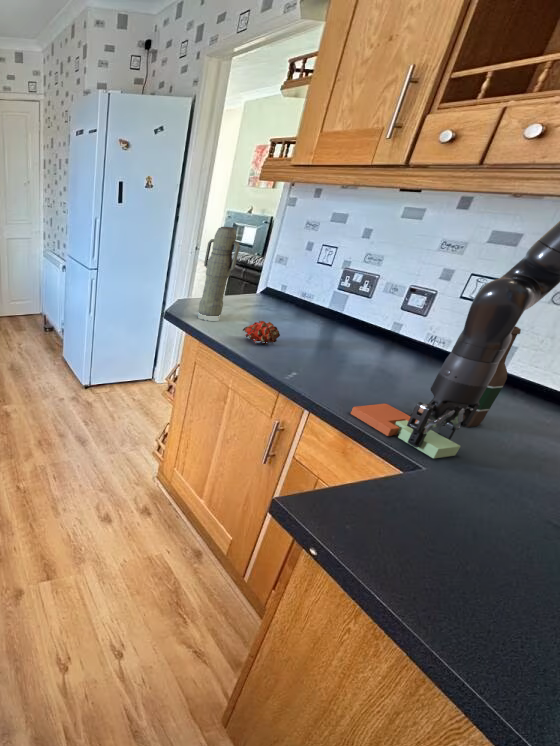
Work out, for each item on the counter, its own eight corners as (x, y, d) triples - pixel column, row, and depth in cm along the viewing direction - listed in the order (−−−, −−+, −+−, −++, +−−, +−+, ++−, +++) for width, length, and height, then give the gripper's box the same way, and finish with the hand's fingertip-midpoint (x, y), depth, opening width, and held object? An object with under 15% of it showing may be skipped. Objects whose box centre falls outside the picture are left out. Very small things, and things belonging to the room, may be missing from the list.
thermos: (219, 323, 163) (240, 230, 147) (190, 317, 169) (207, 226, 153) (226, 318, 169) (247, 228, 153) (198, 312, 175) (215, 225, 159)
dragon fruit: (277, 352, 142) (240, 348, 149) (284, 333, 145) (247, 330, 152) (276, 337, 136) (238, 333, 143) (283, 317, 138) (245, 314, 146)
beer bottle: (483, 421, 101) (539, 328, 90) (474, 431, 97) (531, 335, 86) (443, 408, 106) (491, 318, 95) (433, 416, 102) (482, 324, 92)
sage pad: (407, 428, 97) (411, 419, 96) (455, 455, 88) (461, 446, 87) (386, 431, 96) (391, 421, 95) (433, 458, 87) (438, 449, 86)
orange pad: (382, 410, 105) (386, 403, 104) (422, 431, 96) (426, 424, 95) (350, 413, 103) (353, 406, 102) (387, 436, 94) (391, 428, 93)
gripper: (456, 387, 78) (418, 457, 86) (512, 382, 81) (471, 450, 89) (417, 370, 85) (385, 437, 92) (470, 366, 88) (435, 430, 95)
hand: (427, 443), depth 91 cm, fingers open, 7 cm apart
